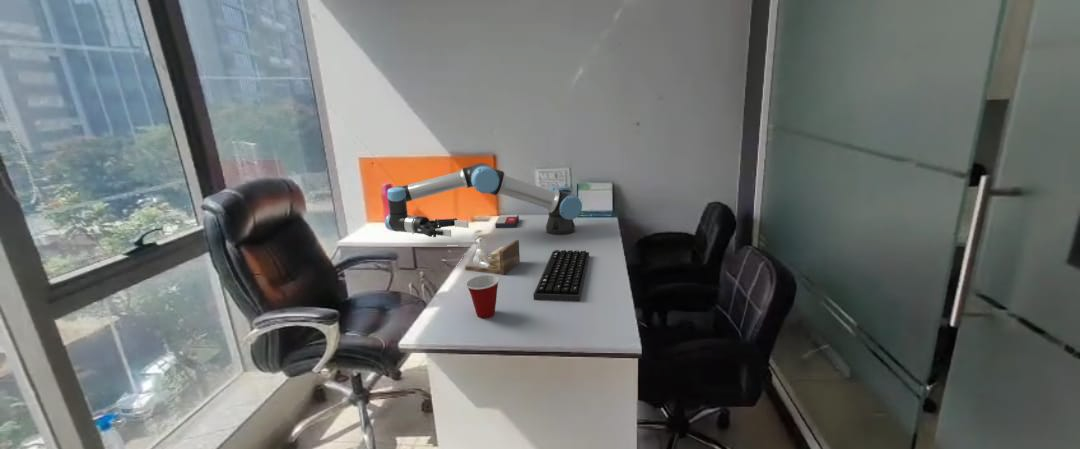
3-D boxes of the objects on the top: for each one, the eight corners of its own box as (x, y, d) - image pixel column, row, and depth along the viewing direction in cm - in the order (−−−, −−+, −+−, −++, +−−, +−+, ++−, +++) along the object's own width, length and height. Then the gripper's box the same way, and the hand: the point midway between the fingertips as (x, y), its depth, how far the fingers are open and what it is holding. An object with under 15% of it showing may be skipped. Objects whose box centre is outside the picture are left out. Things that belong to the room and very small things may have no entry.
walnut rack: (464, 270, 187) (462, 247, 184) (482, 258, 200) (481, 236, 198) (504, 275, 180) (502, 251, 177) (519, 262, 193) (518, 240, 191)
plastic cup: (469, 308, 153) (466, 274, 150) (501, 305, 154) (499, 272, 151) (467, 323, 143) (463, 288, 139) (501, 320, 143) (499, 285, 140)
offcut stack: (490, 271, 185) (489, 254, 183) (502, 263, 194) (501, 246, 192) (502, 273, 183) (500, 255, 181) (512, 264, 192) (512, 247, 190)
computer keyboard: (552, 257, 200) (552, 248, 199) (589, 257, 198) (589, 249, 196) (533, 301, 158) (533, 291, 157) (579, 303, 155) (579, 292, 154)
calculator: (495, 222, 245) (499, 214, 259) (495, 230, 246) (499, 221, 260) (515, 222, 244) (518, 213, 258) (515, 229, 245) (519, 221, 259)
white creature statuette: (489, 269, 186) (487, 242, 183) (469, 269, 188) (467, 241, 185) (496, 261, 195) (494, 235, 192) (477, 261, 197) (475, 234, 194)
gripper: (435, 225, 211) (475, 229, 203) (400, 241, 189) (443, 246, 181) (433, 209, 209) (474, 213, 201) (398, 223, 187) (441, 228, 179)
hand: (459, 228), depth 191 cm, fingers open, 13 cm apart
